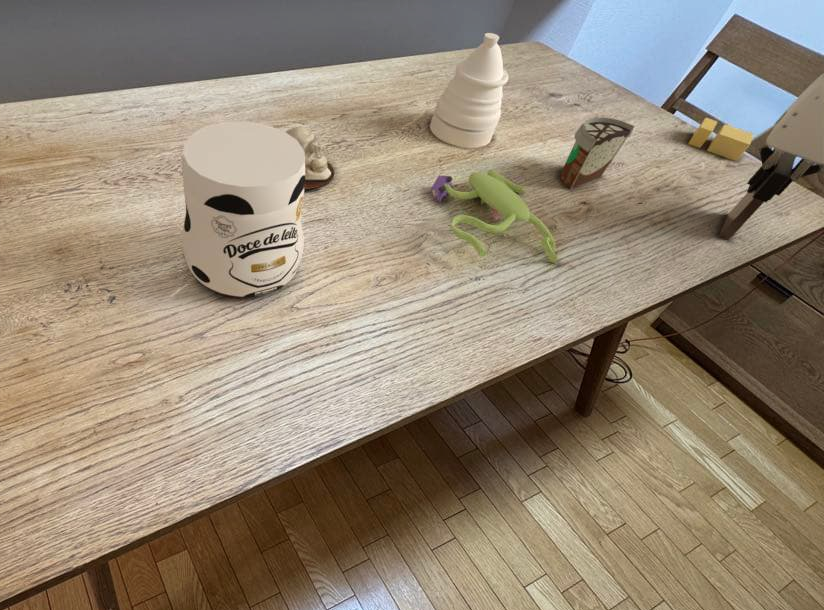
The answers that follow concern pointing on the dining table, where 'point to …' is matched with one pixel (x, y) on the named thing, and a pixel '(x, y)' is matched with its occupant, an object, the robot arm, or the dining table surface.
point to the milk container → (243, 207)
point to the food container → (594, 149)
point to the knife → (775, 178)
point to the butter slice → (703, 132)
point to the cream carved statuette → (312, 158)
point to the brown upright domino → (739, 215)
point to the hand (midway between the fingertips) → (759, 192)
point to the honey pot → (472, 98)
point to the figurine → (493, 207)
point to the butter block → (730, 142)
